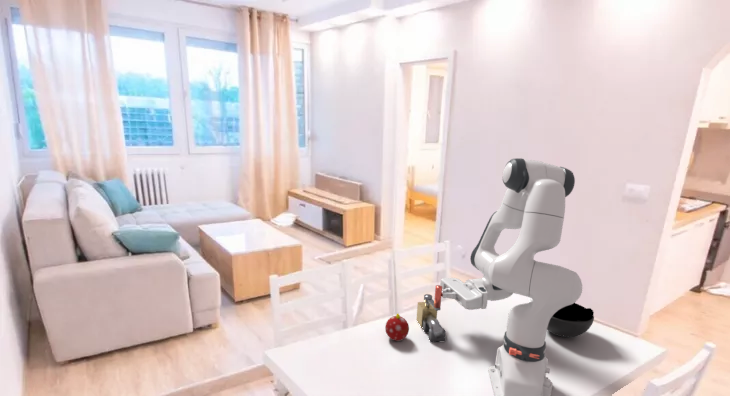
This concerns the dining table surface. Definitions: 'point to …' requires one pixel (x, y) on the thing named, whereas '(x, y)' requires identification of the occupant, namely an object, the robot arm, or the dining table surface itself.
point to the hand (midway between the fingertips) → (441, 294)
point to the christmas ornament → (397, 328)
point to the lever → (437, 302)
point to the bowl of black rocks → (571, 321)
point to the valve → (430, 322)
